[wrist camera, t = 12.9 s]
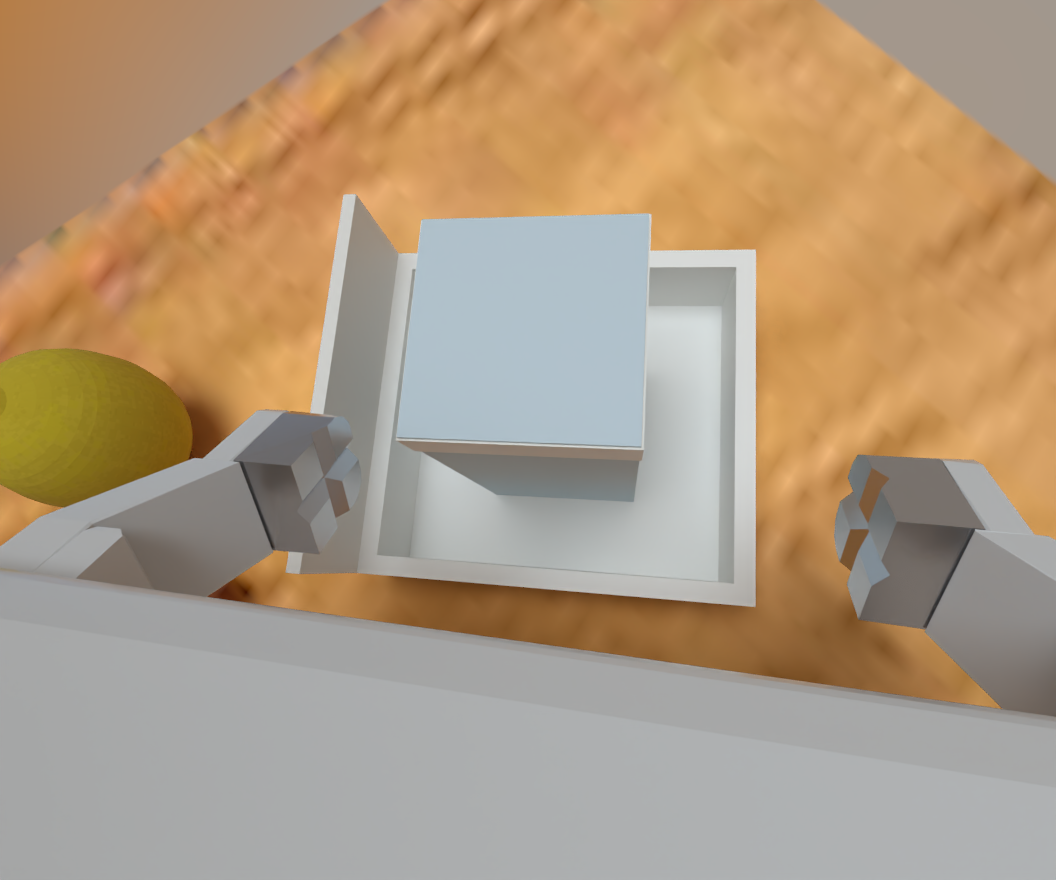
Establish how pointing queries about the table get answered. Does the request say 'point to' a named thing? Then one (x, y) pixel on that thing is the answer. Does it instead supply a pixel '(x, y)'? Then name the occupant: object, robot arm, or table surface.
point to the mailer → (542, 522)
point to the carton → (531, 353)
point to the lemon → (85, 425)
